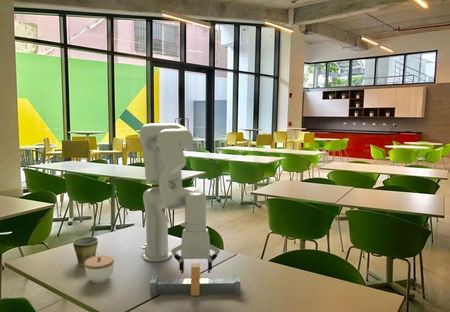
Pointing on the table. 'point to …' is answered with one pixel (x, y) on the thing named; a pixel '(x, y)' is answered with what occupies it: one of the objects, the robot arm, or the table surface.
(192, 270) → the clip
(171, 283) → the rail
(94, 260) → the lidded jar
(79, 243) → the ceramic cup
